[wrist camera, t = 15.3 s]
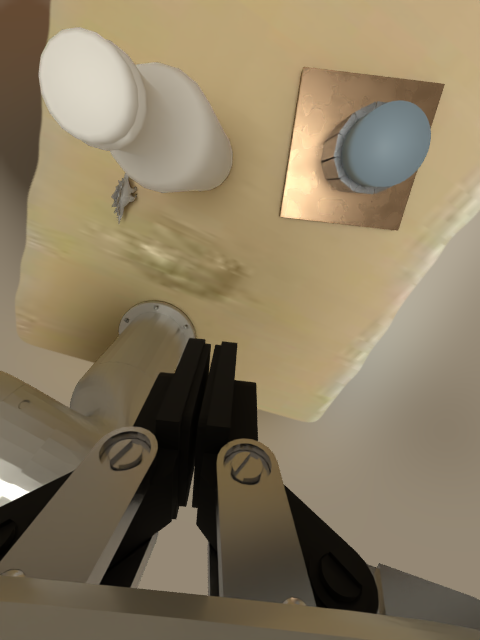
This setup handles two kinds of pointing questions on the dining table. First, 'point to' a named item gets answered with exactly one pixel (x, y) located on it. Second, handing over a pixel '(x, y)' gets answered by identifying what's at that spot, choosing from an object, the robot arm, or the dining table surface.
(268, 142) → the dining table surface
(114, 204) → the stegosaurus
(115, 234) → the dining table surface
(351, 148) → the cap
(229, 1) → the dining table surface
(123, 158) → the bottle
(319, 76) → the copper square plate
